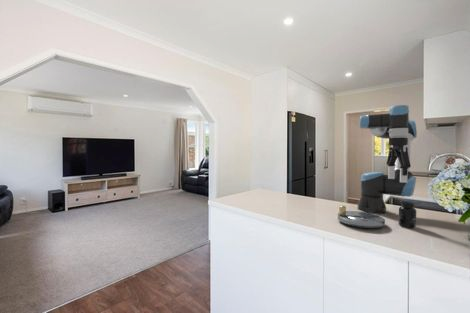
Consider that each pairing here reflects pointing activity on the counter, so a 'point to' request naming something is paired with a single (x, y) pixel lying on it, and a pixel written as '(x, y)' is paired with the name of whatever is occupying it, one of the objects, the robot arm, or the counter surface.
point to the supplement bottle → (407, 215)
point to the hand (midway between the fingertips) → (397, 180)
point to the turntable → (360, 218)
